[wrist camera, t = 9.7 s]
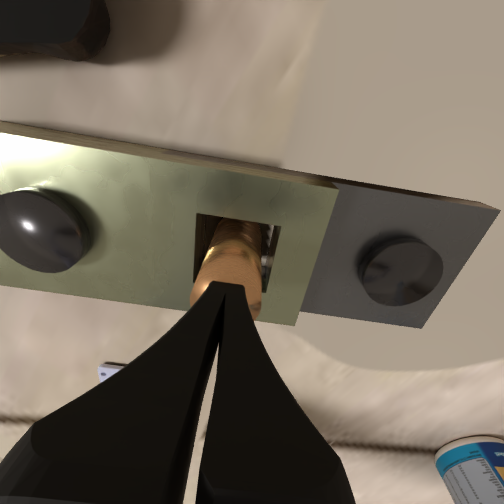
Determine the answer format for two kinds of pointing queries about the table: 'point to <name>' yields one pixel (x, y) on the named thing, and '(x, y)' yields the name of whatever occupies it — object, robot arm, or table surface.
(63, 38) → the black sponge
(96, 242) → the green peg socket base
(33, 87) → the table surface
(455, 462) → the beverage bottle
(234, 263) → the copper pin
